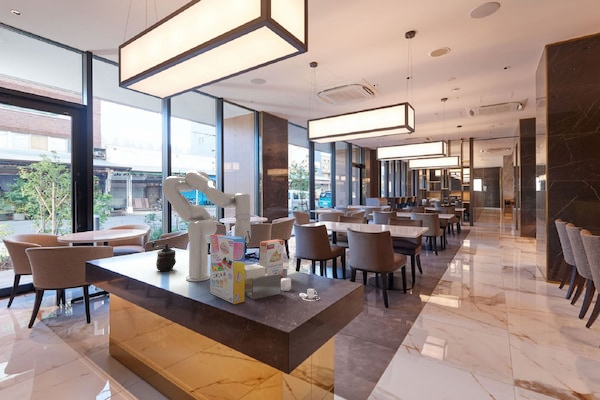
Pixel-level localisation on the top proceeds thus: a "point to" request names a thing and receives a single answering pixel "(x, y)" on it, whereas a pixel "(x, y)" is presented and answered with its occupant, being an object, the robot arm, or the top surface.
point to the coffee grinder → (165, 258)
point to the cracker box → (272, 256)
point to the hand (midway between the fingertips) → (243, 252)
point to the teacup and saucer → (310, 294)
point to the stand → (262, 286)
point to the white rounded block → (285, 284)
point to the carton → (254, 271)
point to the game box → (227, 268)
